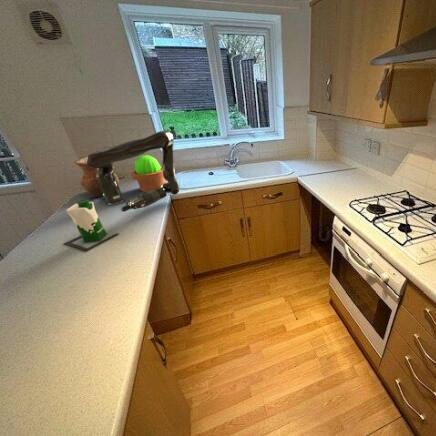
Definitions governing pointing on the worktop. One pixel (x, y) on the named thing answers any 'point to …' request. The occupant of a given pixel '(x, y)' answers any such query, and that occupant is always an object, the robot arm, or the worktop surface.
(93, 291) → the worktop surface
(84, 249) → the dark flat u-shaped piece
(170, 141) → the robot arm
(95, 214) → the soya milk
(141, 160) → the potted cactus
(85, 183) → the jug
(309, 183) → the worktop surface
